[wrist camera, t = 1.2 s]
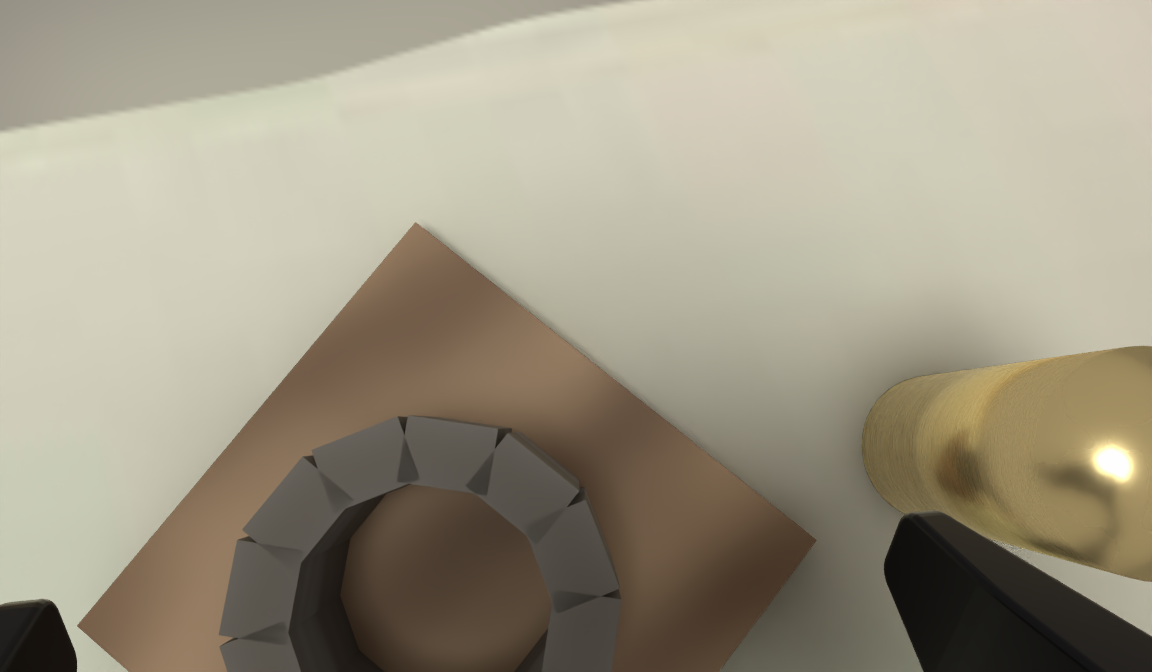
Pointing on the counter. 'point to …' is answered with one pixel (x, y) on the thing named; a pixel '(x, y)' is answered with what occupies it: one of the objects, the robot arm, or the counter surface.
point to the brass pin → (1028, 454)
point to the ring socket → (450, 511)
